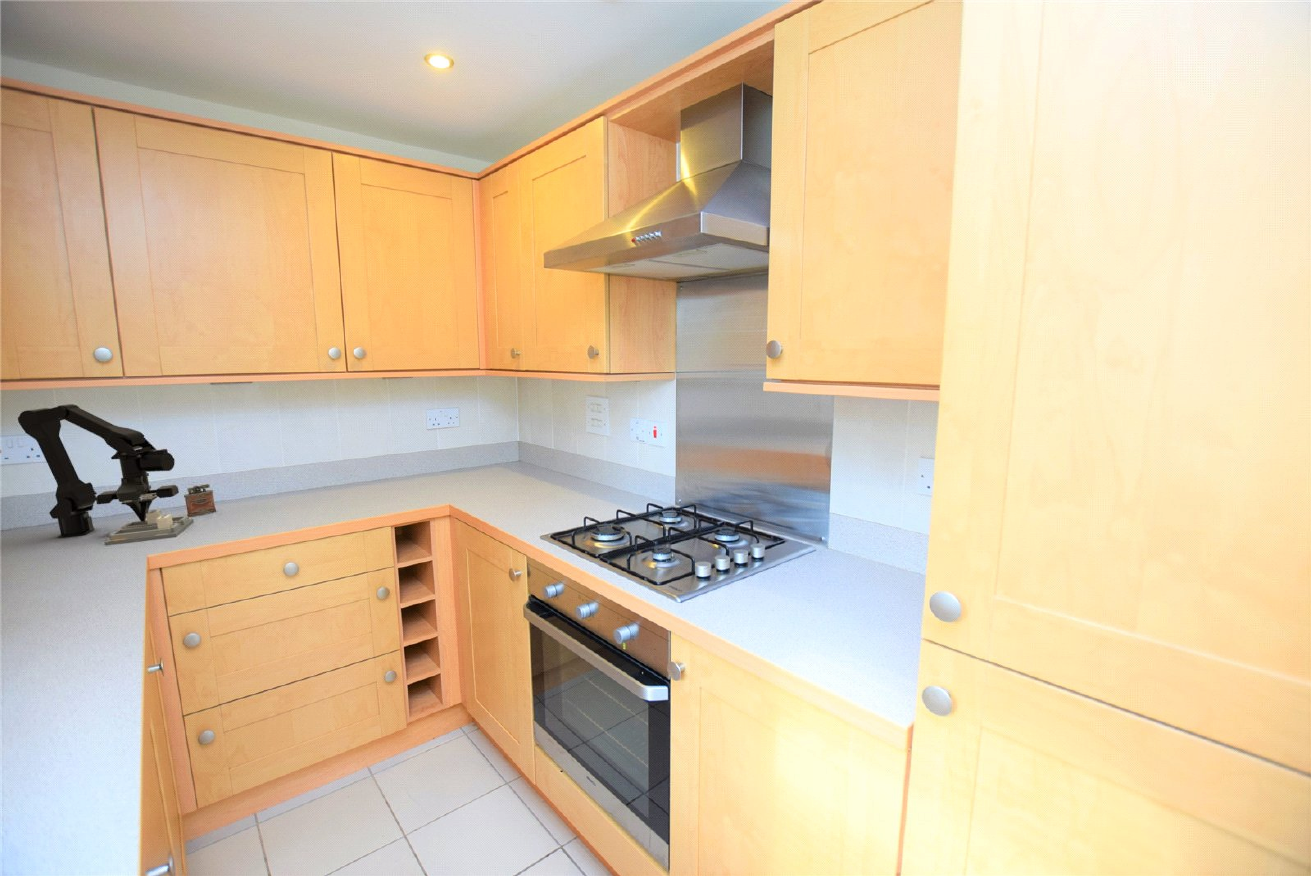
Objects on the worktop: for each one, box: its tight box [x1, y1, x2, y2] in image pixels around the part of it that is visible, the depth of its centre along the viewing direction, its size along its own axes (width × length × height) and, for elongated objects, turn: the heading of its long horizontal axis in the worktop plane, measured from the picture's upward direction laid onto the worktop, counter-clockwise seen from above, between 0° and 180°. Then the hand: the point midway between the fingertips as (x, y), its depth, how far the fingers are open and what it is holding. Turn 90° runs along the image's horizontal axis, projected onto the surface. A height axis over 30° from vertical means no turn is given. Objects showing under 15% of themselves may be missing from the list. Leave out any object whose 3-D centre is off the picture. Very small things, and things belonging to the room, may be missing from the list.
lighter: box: [183, 483, 217, 518], centre depth 200 cm, size 8×3×10 cm, turn 143°
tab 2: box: [156, 513, 173, 529], centre depth 179 cm, size 2×4×5 cm, turn 22°
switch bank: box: [103, 515, 195, 546], centre depth 182 cm, size 17×16×2 cm
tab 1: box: [146, 509, 163, 524], centre depth 185 cm, size 2×4×5 cm, turn 23°
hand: (143, 520), depth 184 cm, fingers closed
